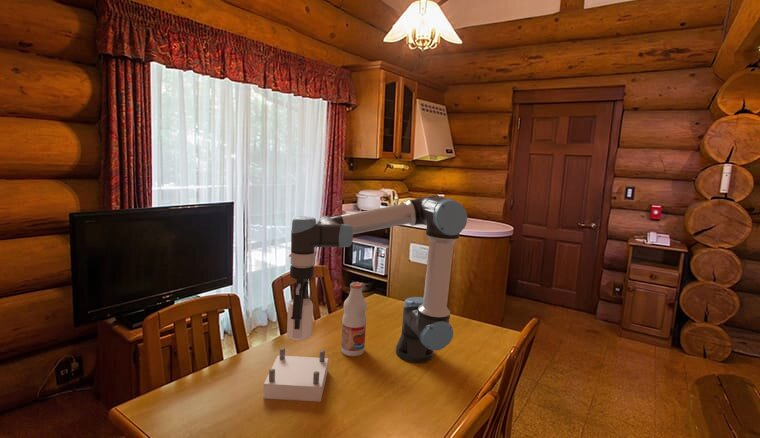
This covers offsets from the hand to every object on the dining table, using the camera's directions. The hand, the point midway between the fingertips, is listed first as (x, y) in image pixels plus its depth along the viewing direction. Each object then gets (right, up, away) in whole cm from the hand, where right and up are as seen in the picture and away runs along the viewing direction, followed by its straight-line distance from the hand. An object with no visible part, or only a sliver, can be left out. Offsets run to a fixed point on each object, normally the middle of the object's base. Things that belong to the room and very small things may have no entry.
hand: (299, 331), depth 131 cm
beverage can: (0, -2, 0) cm, 2 cm away
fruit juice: (+16, -16, +28) cm, 36 cm away
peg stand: (-1, -18, +3) cm, 19 cm away
